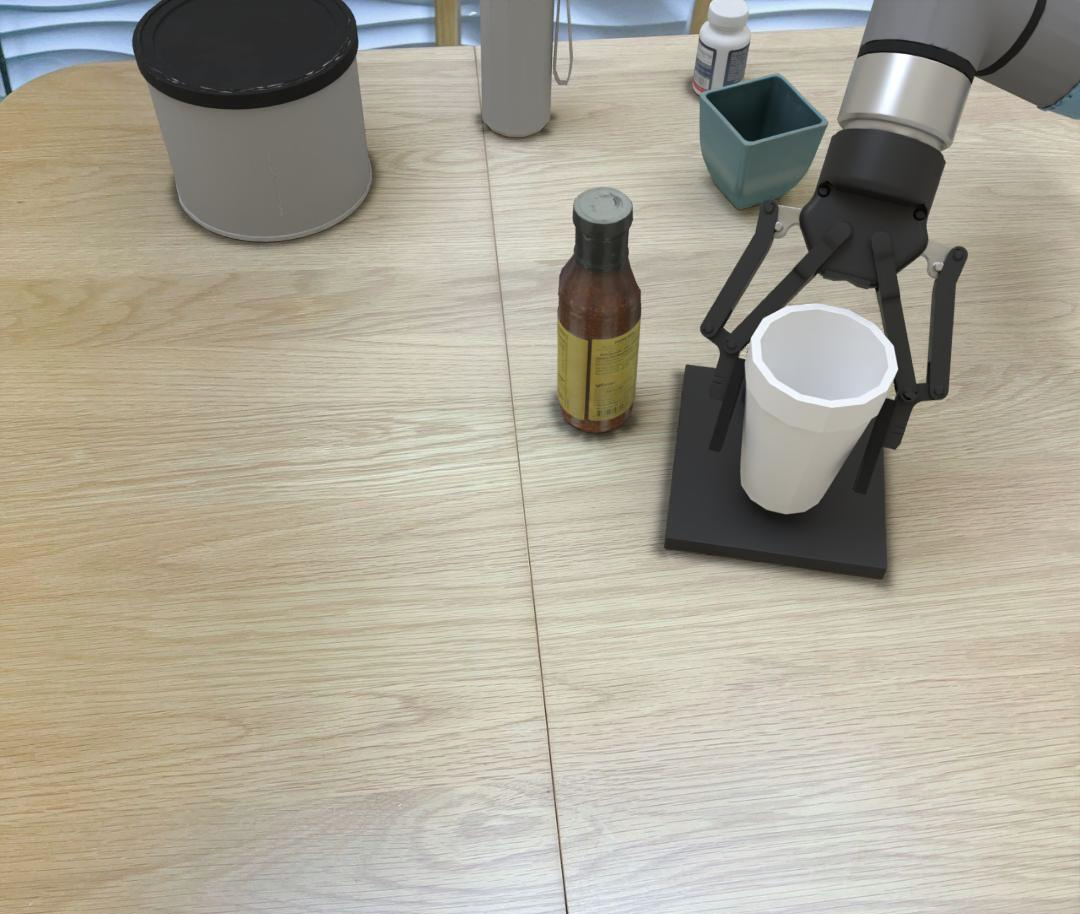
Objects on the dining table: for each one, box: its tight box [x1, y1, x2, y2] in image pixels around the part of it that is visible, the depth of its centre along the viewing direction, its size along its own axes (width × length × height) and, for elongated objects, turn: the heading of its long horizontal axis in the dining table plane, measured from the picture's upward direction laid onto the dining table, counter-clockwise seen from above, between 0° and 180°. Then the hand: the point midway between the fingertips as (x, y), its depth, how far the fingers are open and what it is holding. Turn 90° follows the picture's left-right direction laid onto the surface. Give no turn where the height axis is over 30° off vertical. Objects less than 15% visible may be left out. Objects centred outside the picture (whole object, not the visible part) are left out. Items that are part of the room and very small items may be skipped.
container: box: [131, 0, 373, 243], centre depth 99 cm, size 19×19×15 cm
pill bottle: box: [692, 0, 752, 96], centre depth 113 cm, size 5×5×9 cm
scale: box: [663, 363, 888, 580], centre depth 84 cm, size 16×19×3 cm
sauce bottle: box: [556, 186, 642, 434], centre depth 81 cm, size 6×6×20 cm
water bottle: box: [479, 0, 574, 138], centre depth 102 cm, size 9×8×25 cm
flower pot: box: [698, 72, 829, 210], centre depth 102 cm, size 9×9×9 cm
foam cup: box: [740, 302, 898, 514], centre depth 76 cm, size 10×9×13 cm
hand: (786, 470), depth 75 cm, fingers closed on foam cup, 9 cm apart
